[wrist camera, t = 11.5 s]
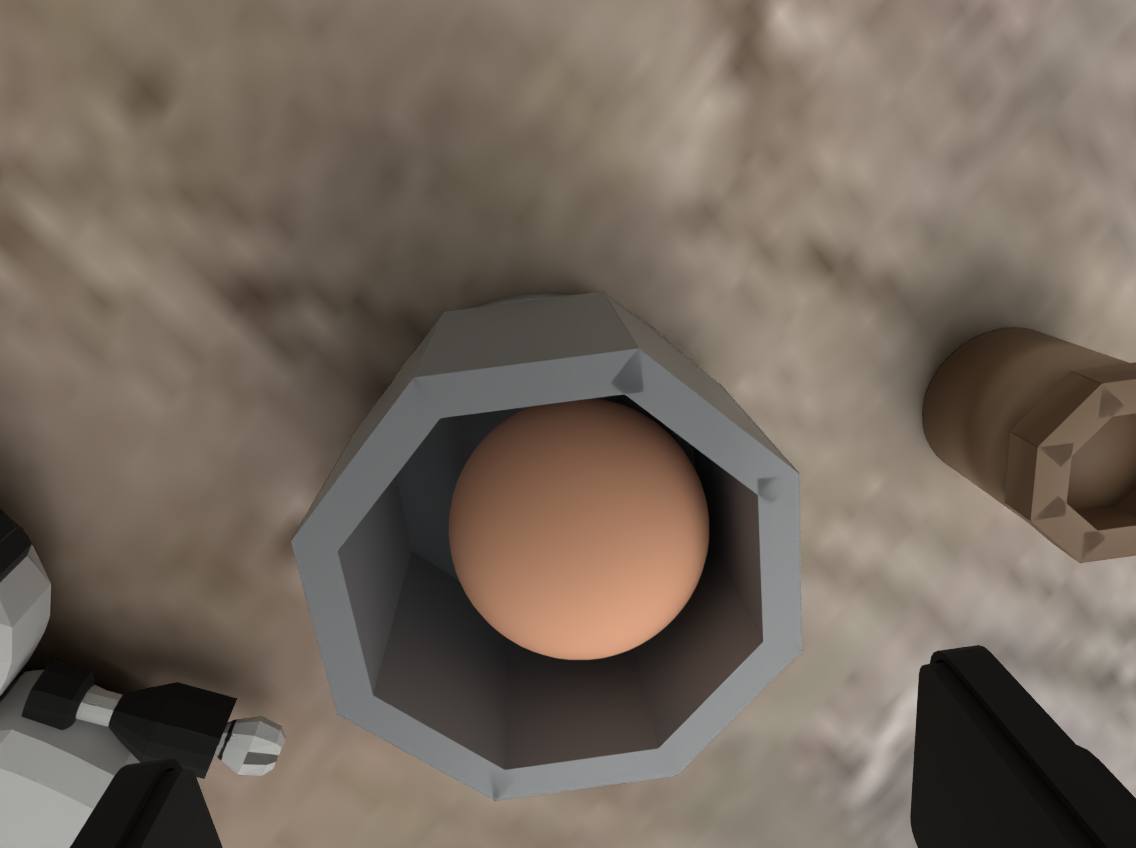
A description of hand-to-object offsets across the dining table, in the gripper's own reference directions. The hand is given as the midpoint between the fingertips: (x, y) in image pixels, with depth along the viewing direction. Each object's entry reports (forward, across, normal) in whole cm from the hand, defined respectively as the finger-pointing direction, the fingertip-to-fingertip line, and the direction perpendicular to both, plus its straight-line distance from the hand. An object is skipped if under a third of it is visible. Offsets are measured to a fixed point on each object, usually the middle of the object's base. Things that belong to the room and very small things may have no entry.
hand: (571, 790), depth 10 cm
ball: (+8, -1, +1) cm, 8 cm away
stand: (+12, -13, +1) cm, 18 cm away
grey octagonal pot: (+12, 0, +1) cm, 12 cm away
